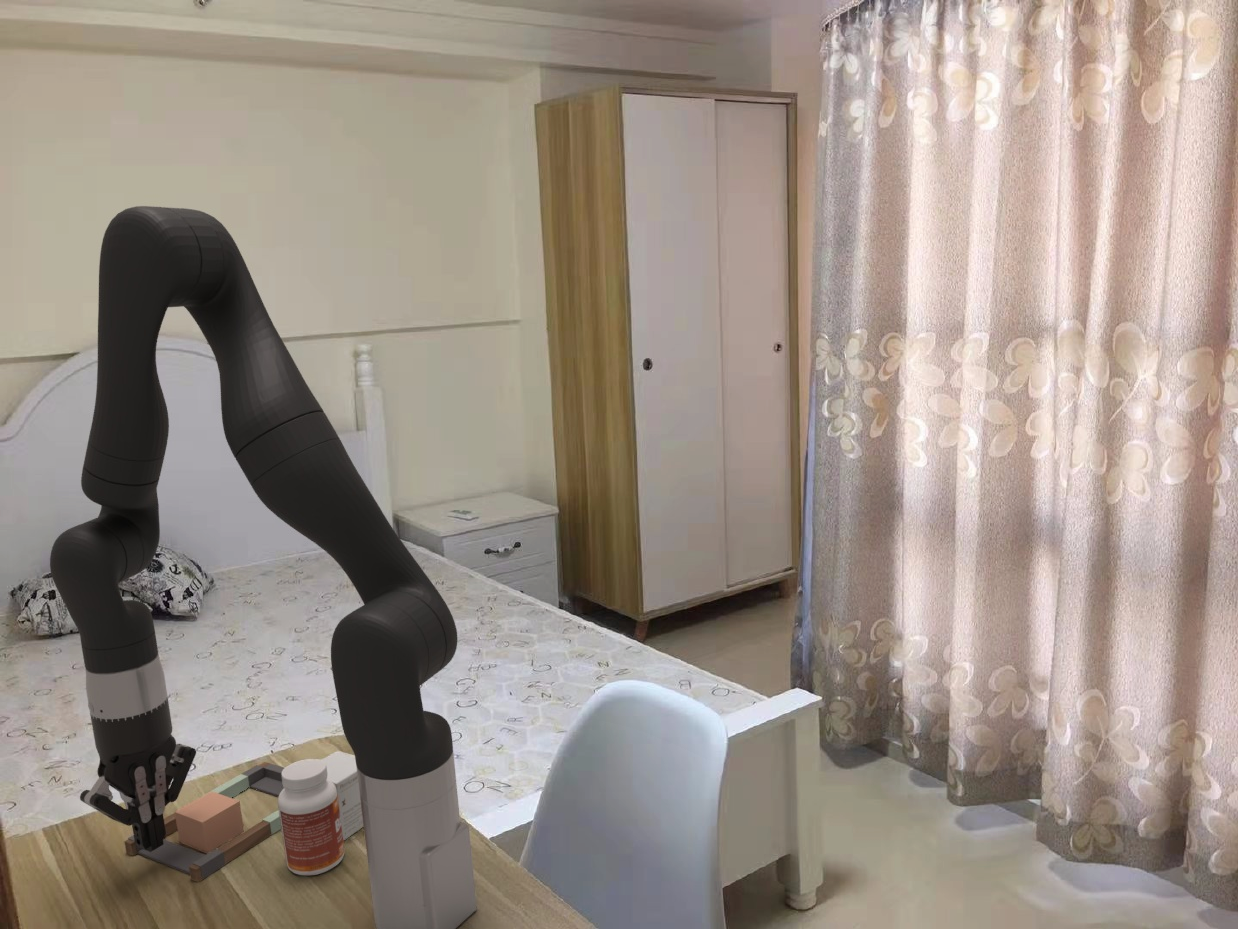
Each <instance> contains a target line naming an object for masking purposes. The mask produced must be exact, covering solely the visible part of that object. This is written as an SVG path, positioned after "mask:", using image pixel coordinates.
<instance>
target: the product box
mask: <svg viewBox="0 0 1238 929" xmlns="http://www.w3.org/2000/svg"><path fill="white" fill-rule="evenodd" d="M320 760H322V761H324V762H325V763H326V767H327V773H328V775H327V779H329V780H330V781H332V782H333V783H334V785H335V787H336V790H337V796H338V803H339V811H340V819H341V826H342V834H343V841H345V840H347V839H348V838H350V836H352V835H354V834H355V833H357V832H358V831H359V830H361V829H363V828H364V826H363V817H362V809H361V801H360V791H359V783H358V775H357V767H356V760H355V754H351V753H347V752H344V751H339V750H335V752H332V753H331V754H329V755H328V756H326V757H323V758H321V759H320Z"/></svg>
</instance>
